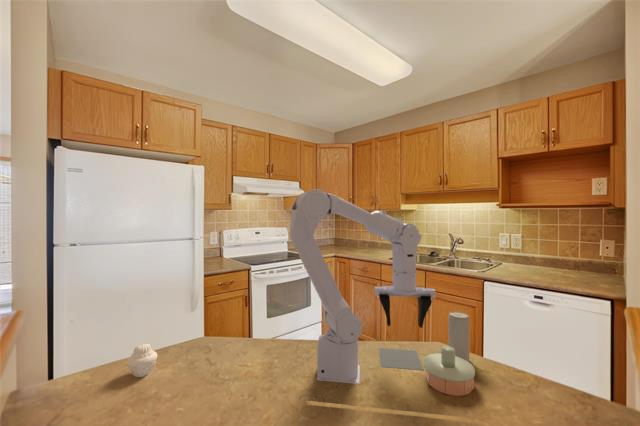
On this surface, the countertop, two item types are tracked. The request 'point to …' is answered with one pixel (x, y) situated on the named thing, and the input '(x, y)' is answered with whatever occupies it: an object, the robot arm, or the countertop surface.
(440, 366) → the lid
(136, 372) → the muffin
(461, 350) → the beverage can
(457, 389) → the bowl
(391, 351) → the mat
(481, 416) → the countertop surface
